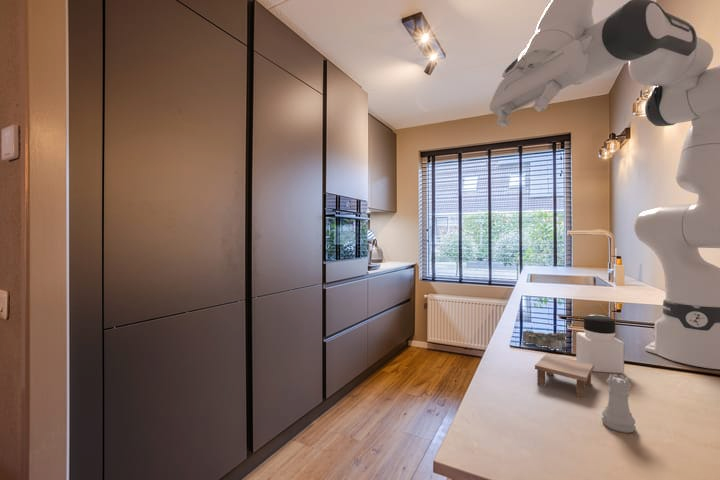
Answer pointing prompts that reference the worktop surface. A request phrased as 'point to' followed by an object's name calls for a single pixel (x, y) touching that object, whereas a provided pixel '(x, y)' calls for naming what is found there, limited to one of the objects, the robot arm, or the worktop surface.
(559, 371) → the footstool
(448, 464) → the worktop surface
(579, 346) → the medicine bottle
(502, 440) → the worktop surface
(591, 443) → the worktop surface
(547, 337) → the mossy rock
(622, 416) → the rook chess piece
